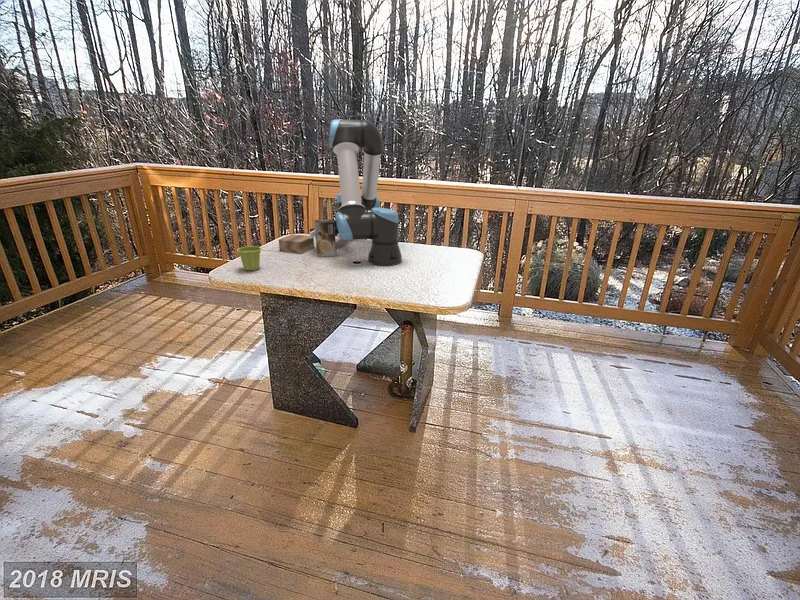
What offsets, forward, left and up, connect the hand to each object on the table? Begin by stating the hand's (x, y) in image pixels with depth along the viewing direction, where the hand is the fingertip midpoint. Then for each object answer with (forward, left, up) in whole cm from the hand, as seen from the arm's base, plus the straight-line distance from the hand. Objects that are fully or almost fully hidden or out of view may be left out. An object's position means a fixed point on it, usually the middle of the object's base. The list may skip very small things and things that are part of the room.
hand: (324, 236), depth 181 cm
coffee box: (0, -1, -9) cm, 9 cm away
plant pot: (+23, +26, -9) cm, 36 cm away
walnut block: (+17, -6, -9) cm, 20 cm away
